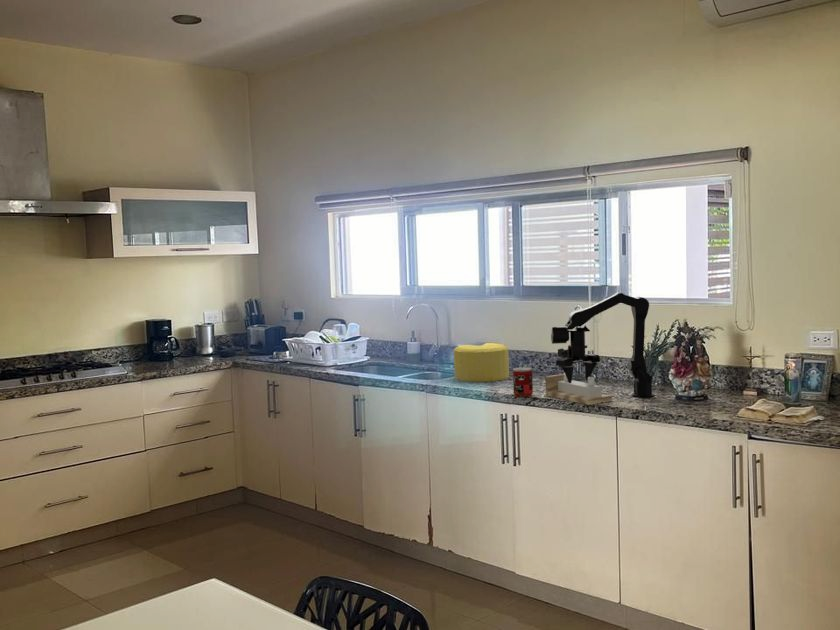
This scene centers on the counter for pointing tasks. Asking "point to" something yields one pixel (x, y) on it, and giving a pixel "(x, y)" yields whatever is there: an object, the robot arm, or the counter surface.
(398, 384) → the counter surface
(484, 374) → the cheese
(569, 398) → the shelf
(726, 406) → the counter surface
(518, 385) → the canned food
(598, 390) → the white studded brick
